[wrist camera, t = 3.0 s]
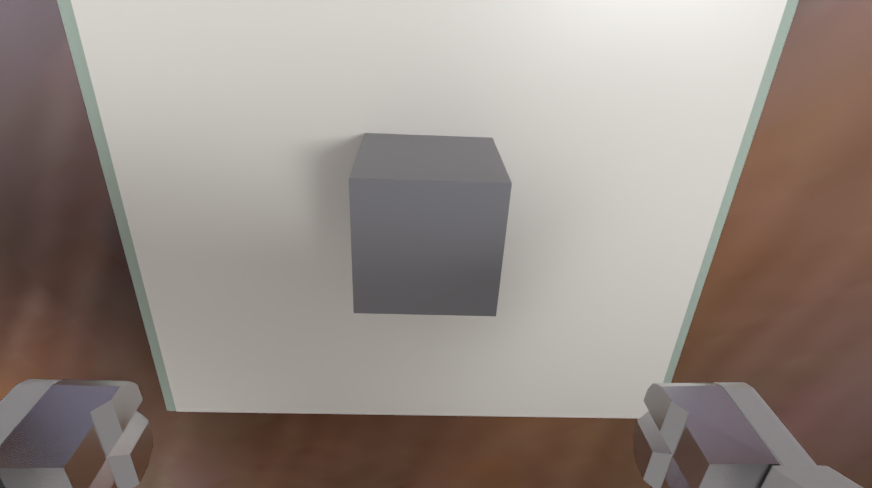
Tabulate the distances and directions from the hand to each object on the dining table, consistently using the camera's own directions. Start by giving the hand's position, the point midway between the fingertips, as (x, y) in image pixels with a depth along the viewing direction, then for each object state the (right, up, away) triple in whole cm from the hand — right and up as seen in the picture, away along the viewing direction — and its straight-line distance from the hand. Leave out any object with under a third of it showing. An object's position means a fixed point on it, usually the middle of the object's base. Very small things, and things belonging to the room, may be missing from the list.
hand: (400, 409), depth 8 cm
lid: (0, +5, +10) cm, 11 cm away
